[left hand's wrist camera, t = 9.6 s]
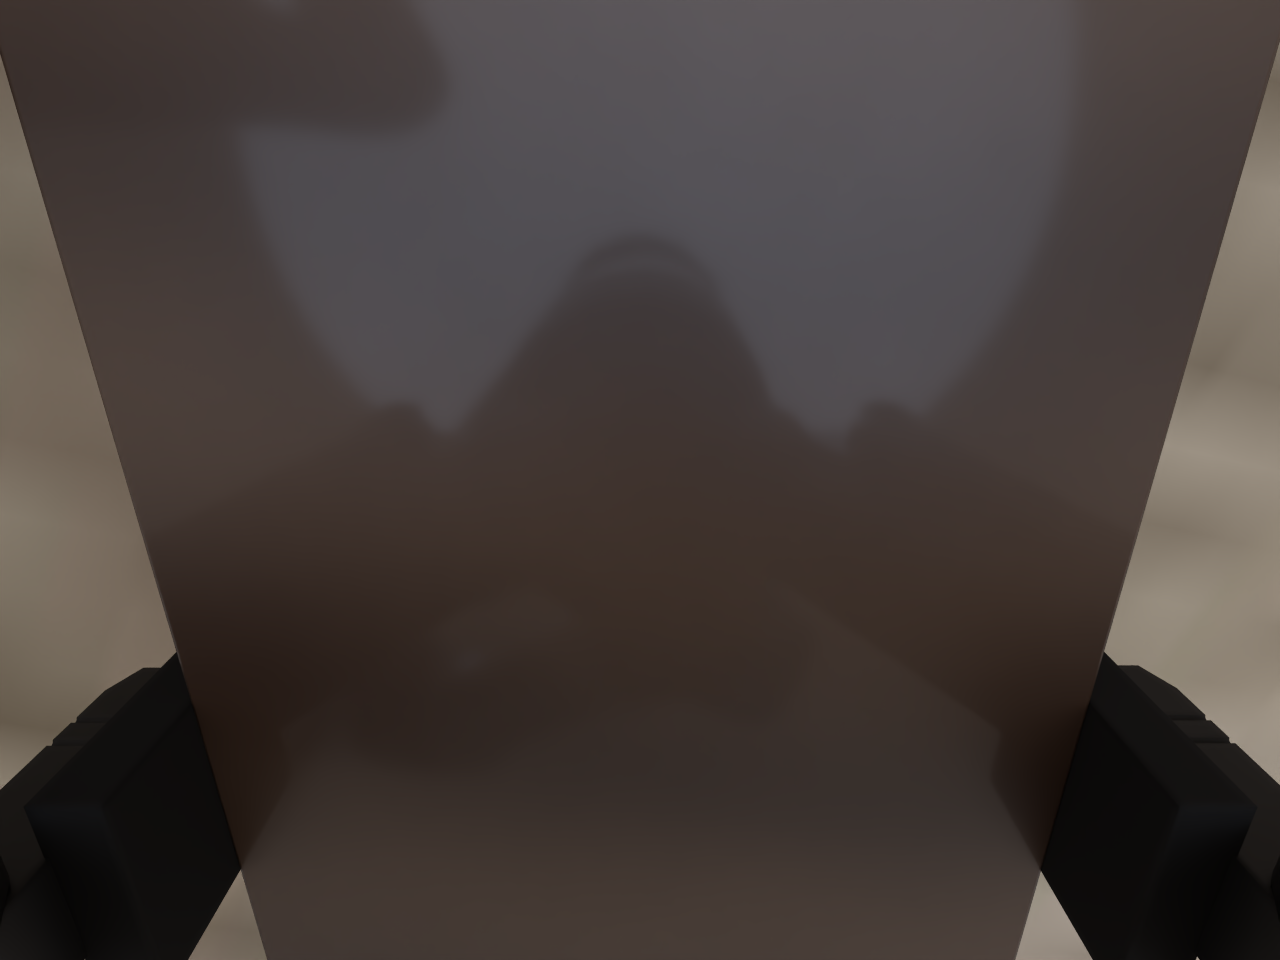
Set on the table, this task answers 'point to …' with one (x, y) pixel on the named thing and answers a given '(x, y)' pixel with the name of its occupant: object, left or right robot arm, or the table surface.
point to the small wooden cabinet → (639, 436)
